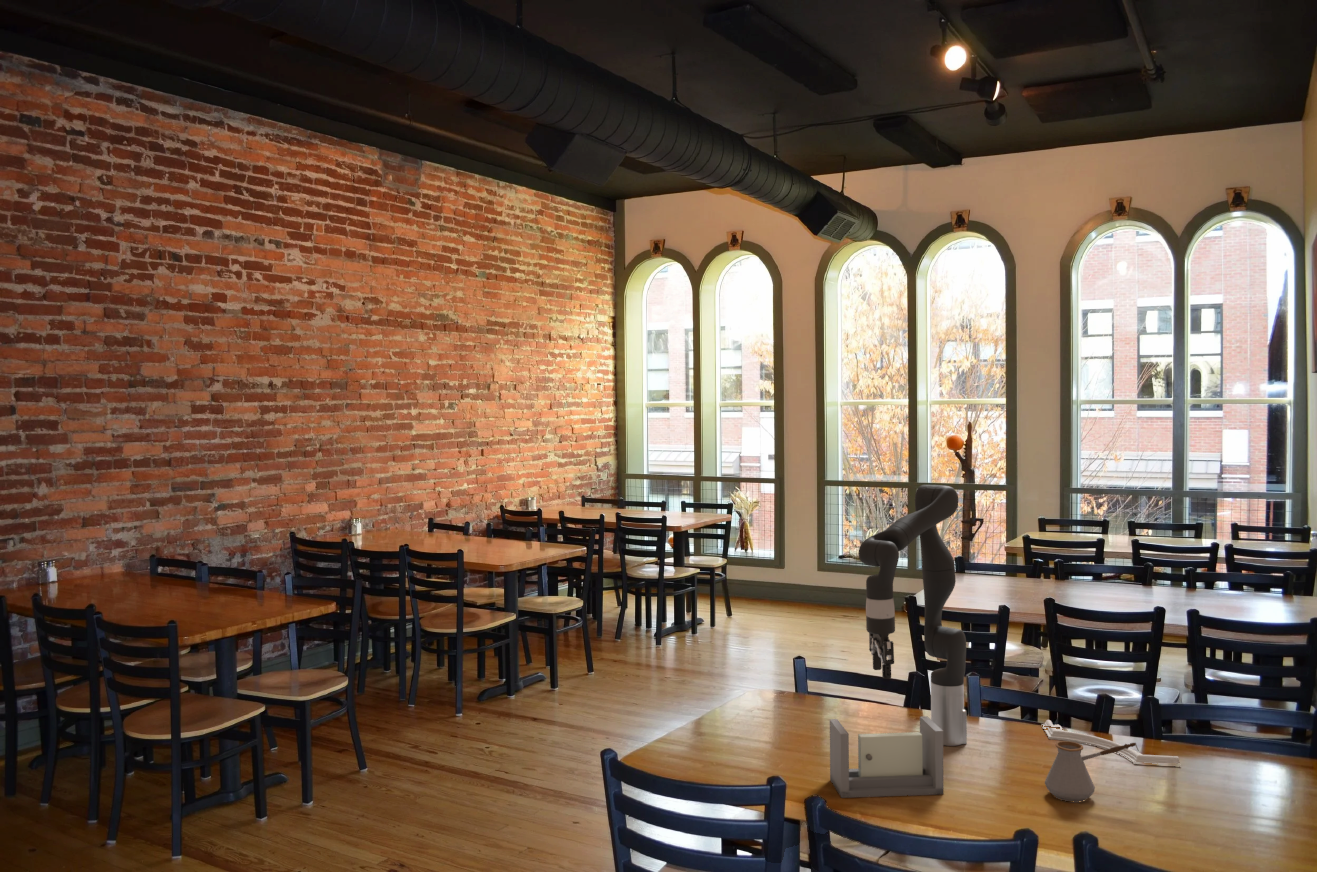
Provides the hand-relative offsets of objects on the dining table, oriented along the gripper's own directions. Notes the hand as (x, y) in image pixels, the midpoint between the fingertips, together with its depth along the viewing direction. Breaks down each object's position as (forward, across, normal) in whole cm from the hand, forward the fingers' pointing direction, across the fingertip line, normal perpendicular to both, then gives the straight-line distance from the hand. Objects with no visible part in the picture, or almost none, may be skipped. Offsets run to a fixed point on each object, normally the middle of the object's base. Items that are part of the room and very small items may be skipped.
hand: (881, 673), depth 262 cm
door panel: (+24, -13, +2) cm, 27 cm away
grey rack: (+26, -13, +4) cm, 29 cm away
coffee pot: (+27, -26, -44) cm, 58 cm away
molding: (+29, +11, -68) cm, 75 cm away
